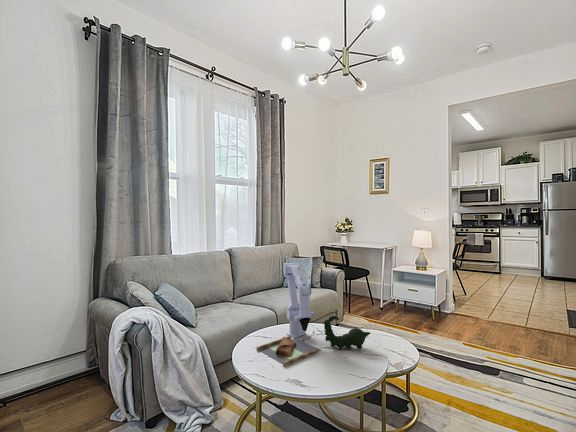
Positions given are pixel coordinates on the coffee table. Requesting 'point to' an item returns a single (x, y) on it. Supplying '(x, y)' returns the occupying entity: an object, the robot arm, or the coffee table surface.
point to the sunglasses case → (285, 347)
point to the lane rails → (292, 358)
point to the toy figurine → (344, 336)
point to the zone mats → (297, 350)
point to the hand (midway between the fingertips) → (304, 330)
